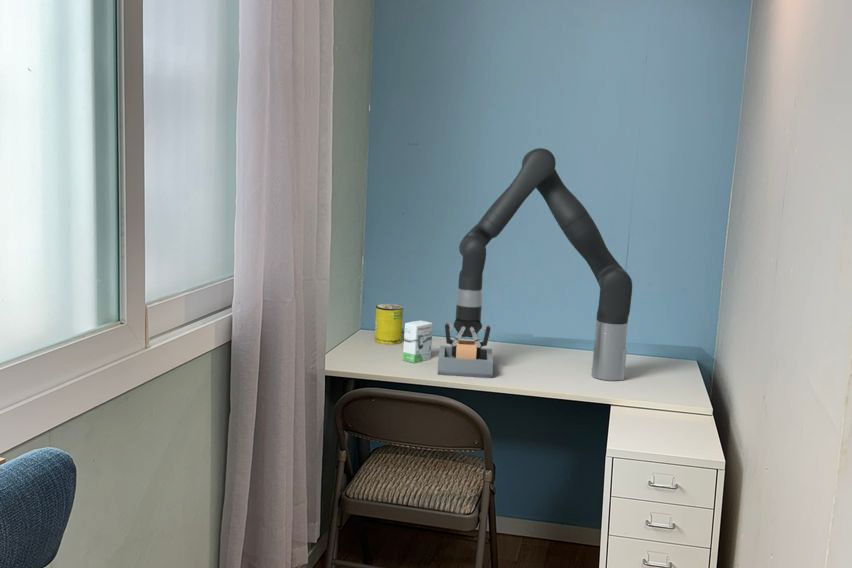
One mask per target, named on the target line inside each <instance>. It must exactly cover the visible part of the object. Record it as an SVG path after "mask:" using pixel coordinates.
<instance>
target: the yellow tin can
mask: <svg viewBox="0 0 852 568" xmlns="http://www.w3.org/2000/svg"><path fill="white" fill-rule="evenodd" d="M403 312H404V307H403V305H399V304H396V303H395V304H393V303H380V304H379V303H378V304H376V305H375V323H374V324H375V325H374V342H375V343H377V344H380V345H386V346H387V345H390V346H391V345H393V346H394V345H400V344H401V343H402V336H403V335H402V334H403V333H402V332H403V317H404V316H403V315H404V313H403Z"/></svg>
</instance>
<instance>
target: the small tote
mask: <svg viewBox="0 0 852 568" xmlns="http://www.w3.org/2000/svg"><path fill="white" fill-rule="evenodd" d="M456 345H457V347H456V358H465V359H476V351H477V344H476V343H475V340H465V339H459V341H458V343H457V344H456Z"/></svg>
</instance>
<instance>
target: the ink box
mask: <svg viewBox="0 0 852 568" xmlns="http://www.w3.org/2000/svg"><path fill="white" fill-rule="evenodd" d="M433 326H434V324H433V322H430V321H426V320H422V319H421V320H415V321H410V322H405V324H404V334H403V350H402V351H403V353H402V361H405V362H409V363H412V364H416V363H421V362H424V361H428V360H431V359H432V344H433V343H432V341H433Z"/></svg>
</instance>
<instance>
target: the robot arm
mask: <svg viewBox="0 0 852 568" xmlns="http://www.w3.org/2000/svg"><path fill="white" fill-rule="evenodd" d="M534 190H537V191H538V192H539V193H540V195H541V197H542V198H543V199H544V201H545V203H546V205H547V207H548V209H549V211H550V212H551V214H552V216H553V217H554V220H555V221H556V222H557V225H558V226H559V228H560V229H561V231H562V232H563V234H564V235H565V238H567V240H568V242H569V243H570V244H571V245H572V246H573V248H574V249H575V250H576V251H577V252H578V254H579V255H580V256H581V257H582V258H583V259H584V260H585V261H586V263H587V265H588V267H589V268H590V270H591V272H592V273H593V275H594V277H595V279H596V282H597V284H598V286H599V299H598V300H599V301H598V306H597V312H596V321H595V331H594V343H593V355H592V366H591V367H592V368H591V376H592V378H595V379H598V380H603V381H613V382H614V381H625V373H626V371H625V370H626V361H627V352H628V351H627V348H626V344H627V343H626V342H627V334H628V322H629V316H630V311H631V303H632V295H633V281H632V278H631V276H630V275H629V273H628V272H627V271H626V270H625V269H624V268H623V267H622V266H621V265H620V264H619V262H618V261H617V259H615V257H614V256H613V255H612V253H611V252H610V250H609V249H608V247H607V245H606V243H605V240H604V238H603V236H602V234H601V232H600V230H599V228H598V226H597V225H596V223H595V221H594V219H593V218H592V216H591V215H590V214H589V212H588V211H587V209H586V207H585V206H584V205H583V203H581V202H580V200H579V199H578V198H577V196H575V195H574V194H573V193H572V192H571V191H570V190H569V188H567V186H566V185H565V184H564V182H563V181H562V179H561V177H560V176H559V173H557V170H556V158H555V156H554V154H553V152H551V151H550V150H548V149H547V148H542V147H539V148H534V149H532V150H530V151H528V152H527V153H526V154H525V155H524V157H523V158H522V161H521V168H520V169H519V171H518V174H517V175H516V176H515V178H514V179H513V181H512V182H511V183H510V184H509V186H508V187H507V188H506V189H505V190H504V191H503V192H502V194H500V196H499V197H498V198H497V199H496V200H495V201H494V202H493V204H492V205H491V206H490V207H489V208H488V209H487V211H486V212H485V213H484V214H483V216H482V217H481V219H480V220H479V221H478V222H477V224H475V225H474V226H473V227H472V228H471V229H470V230H469V231H467V233H466V234H465V235H464V236H463V238H462V239H461V241H460V243H459V245H458V246H459V247H458V250H459V254H460V255H461V256H462V263H461V269H460V271H459V275H458V286H457V288H458V289H457V293H456V294H457V295H456V308H455V320H454V322H452V323H449V322H445V324H444V330H445V331H444V333H445V341H446V342H445V343H446V344H448V345H450V346H452V356H454V358H456V347H457V343H458V341H459V340H461V338H472V339H473V341H475V343H476V344H477V351H476V359H478V358H480V352H481V348H483V347H486V346H487V345H488V342H489V338H490V333H491V326H490V325H489V324H488V325H484V324H482V322H481V321H482V320H481V319H482V306H483V305H482V304H483V275H484V274H483V273H484V269H485V264H486V258H487V245H488V244H489V243H490V242H491V241H492V239H494V238H497V237H498V236H500V234H501V233H502V231H503V230H504V229H505V227H506V226H507V225H508V224H509V223H510V221H511V220H512V219H513V217H514V216H515V214H516V213H517V211H518V210H519V208H520V207H521V206H522V204H523V203H524V202H525V201H526V200H527V198H529V196H530V195H531V193H532V192H533V191H534ZM453 328H454V329H455V331H456V334H455V337H454V338H453V339H451V331H452V330H453ZM481 330H482V332H483V333H484V336H483V340H482V341H481V340H480V337H479V336H478V333H479V332H480V331H481Z"/></svg>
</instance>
